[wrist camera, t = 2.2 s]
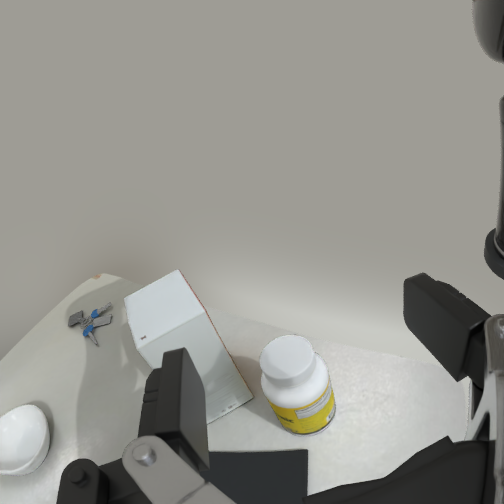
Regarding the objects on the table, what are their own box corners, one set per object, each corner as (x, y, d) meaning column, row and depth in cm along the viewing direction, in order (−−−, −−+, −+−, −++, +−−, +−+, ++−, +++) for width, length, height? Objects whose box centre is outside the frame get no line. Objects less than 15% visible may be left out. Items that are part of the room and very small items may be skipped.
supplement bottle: (271, 405, 29) (240, 346, 24) (320, 381, 30) (303, 315, 24) (293, 447, 24) (265, 398, 19) (346, 420, 25) (338, 361, 20)
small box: (255, 398, 30) (207, 310, 23) (202, 428, 28) (134, 350, 22) (224, 352, 37) (178, 266, 30) (178, 377, 35) (121, 297, 28)
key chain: (64, 324, 51) (62, 321, 51) (93, 296, 56) (90, 293, 56) (97, 347, 43) (94, 343, 43) (130, 312, 49) (128, 309, 48)
